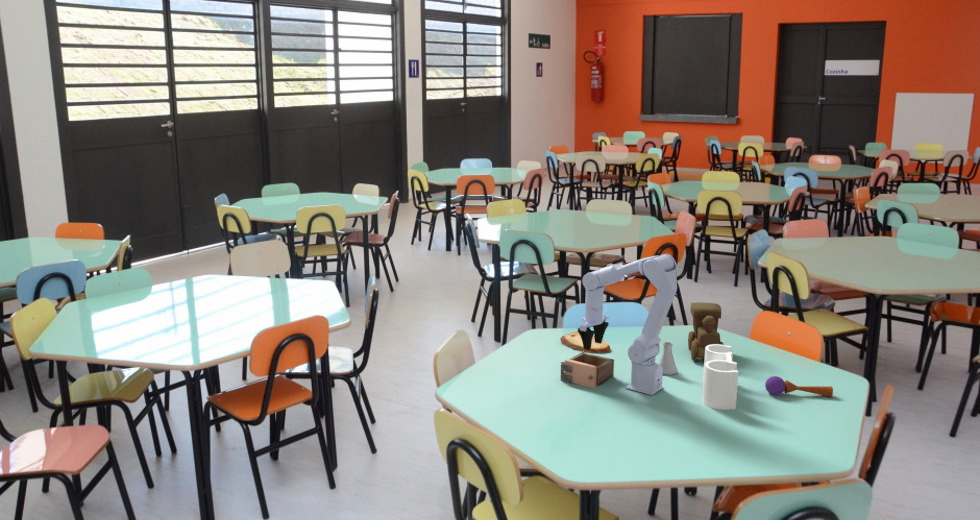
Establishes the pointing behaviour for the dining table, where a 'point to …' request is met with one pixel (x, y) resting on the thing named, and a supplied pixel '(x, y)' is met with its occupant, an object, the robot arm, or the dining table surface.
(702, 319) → the wooden toy train
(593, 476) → the dining table surface
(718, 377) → the bracket
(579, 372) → the door
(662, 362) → the flask
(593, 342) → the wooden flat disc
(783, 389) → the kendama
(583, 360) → the cabinet
